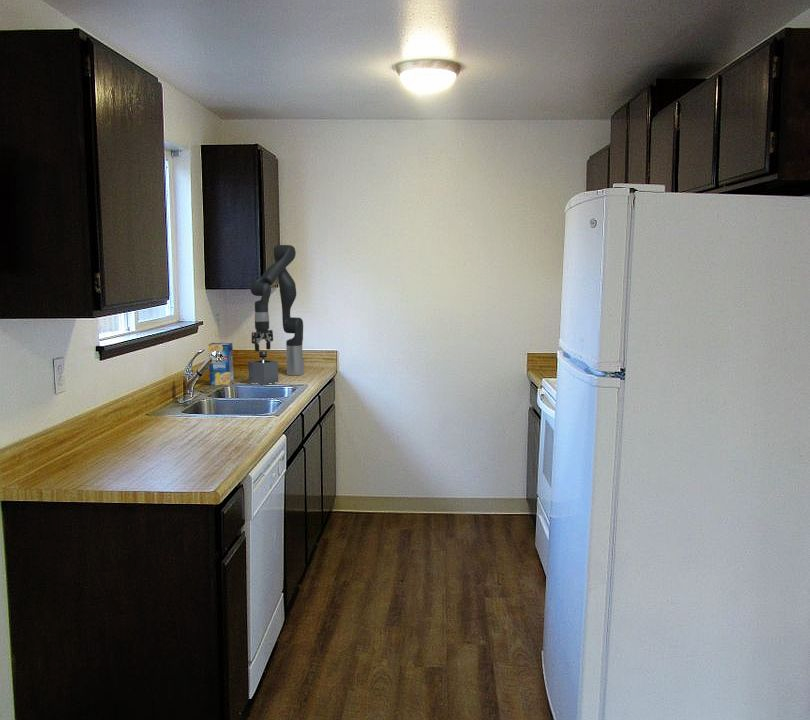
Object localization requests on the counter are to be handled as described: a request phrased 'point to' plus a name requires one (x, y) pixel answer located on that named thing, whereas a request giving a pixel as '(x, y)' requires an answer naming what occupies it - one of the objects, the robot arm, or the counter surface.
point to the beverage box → (221, 364)
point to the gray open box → (263, 371)
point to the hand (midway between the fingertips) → (262, 350)
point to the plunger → (262, 355)
